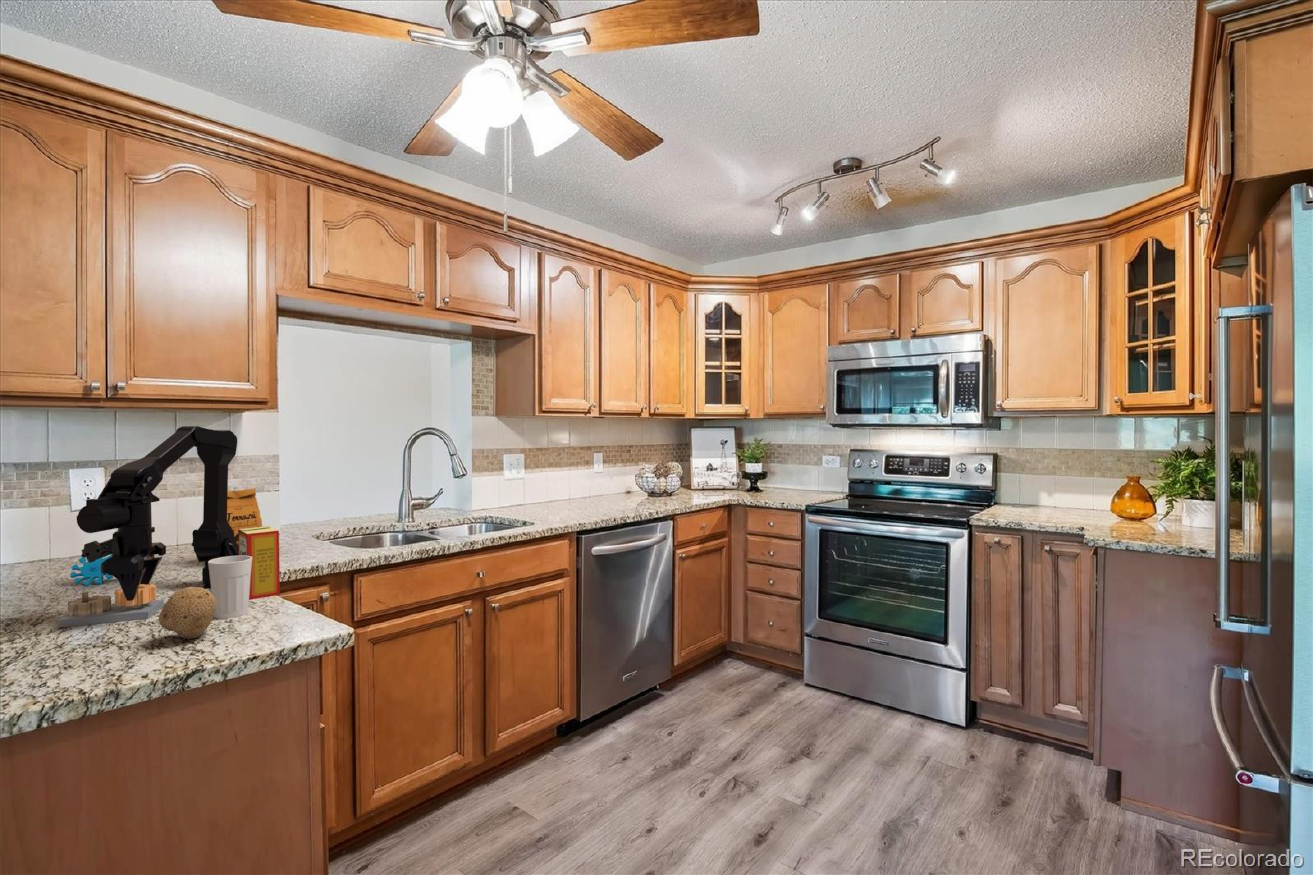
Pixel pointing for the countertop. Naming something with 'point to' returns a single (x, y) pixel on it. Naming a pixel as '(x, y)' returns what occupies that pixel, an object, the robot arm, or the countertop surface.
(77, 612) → the birch gear
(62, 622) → the gear board
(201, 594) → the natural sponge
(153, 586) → the orange gear
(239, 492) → the coffee package
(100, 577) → the gear
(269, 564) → the baking soda box
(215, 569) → the cup
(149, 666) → the countertop surface
